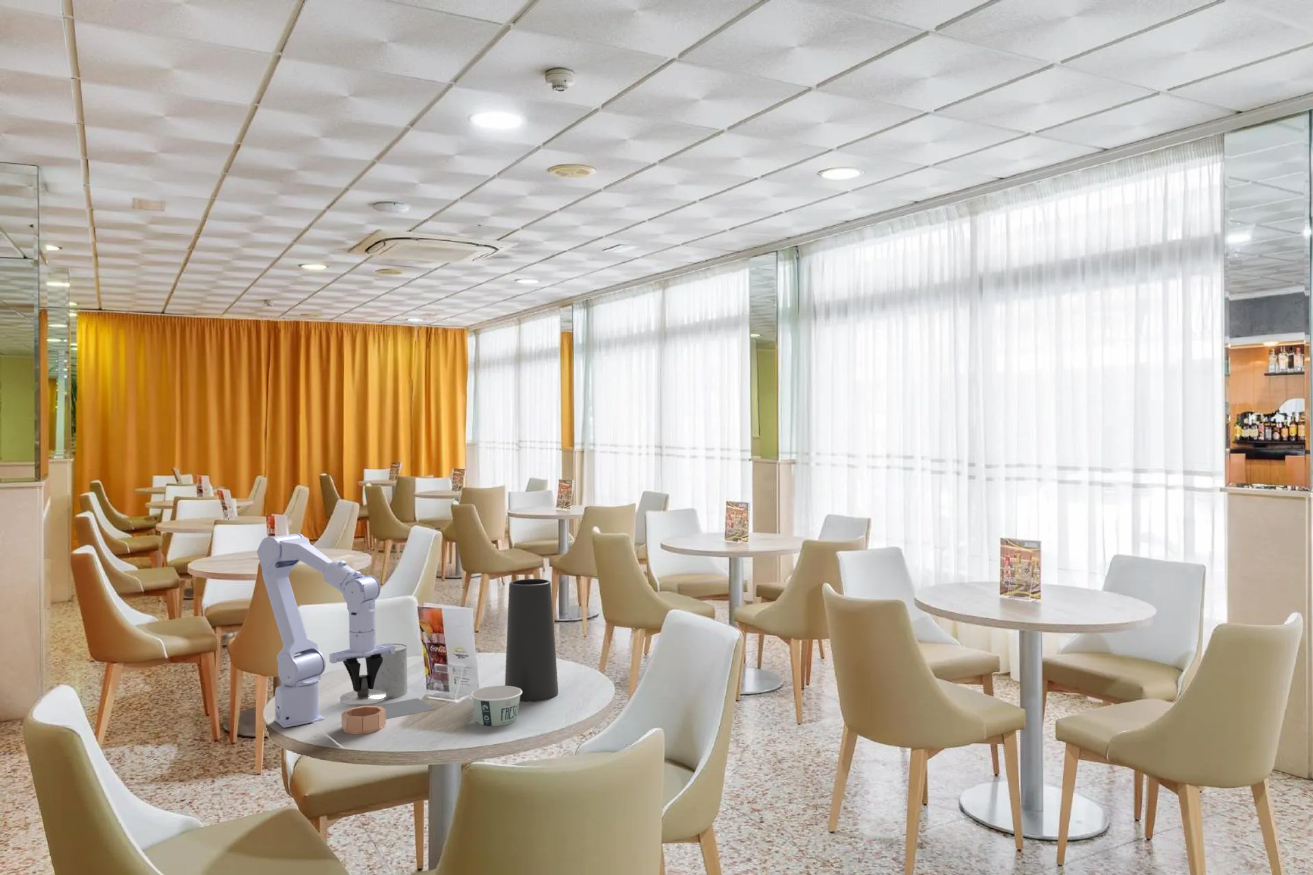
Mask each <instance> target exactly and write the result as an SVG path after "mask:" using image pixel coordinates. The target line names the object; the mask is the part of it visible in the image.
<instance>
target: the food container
mask: <svg viewBox="0 0 1313 875" xmlns="http://www.w3.org/2000/svg"><path fill="white" fill-rule="evenodd" d="M521 694H522V690H521V689H520V688H517V687H513V686H505V685H492V686H491V685H490V686H486V687H480V688H478V689H477V688H476V689H475V690H473V691H471V693H470V697H471V698H472V701H473V707H474V713H475V718H476V723H477V724H478V725H481V726H484V727H485V726H487V727H500V726H507V725H510V724H513V723H515V722H516V721H517V719H518V713H519V704H520V702H521V701H520V695H521Z"/></svg>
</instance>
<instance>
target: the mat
mask: <svg viewBox="0 0 1313 875" xmlns="http://www.w3.org/2000/svg"><path fill="white" fill-rule="evenodd" d="M377 706H381V707H382V708H384V709H385V710H386V720H388V719H394V718H395V719H396V718H399V717H404V716H410V715H415V714H419V713H423V712H424V713H425V712H429V711H435V710H437V708H436V707H434V706H433V705H431V704H429V703H427V702H425V701H424V700H422V699H420V698H418V697H416V698H411V699H406V700H401V701H400V700H399V701H396V702H389V703H385V704H379V705H378V704H377Z"/></svg>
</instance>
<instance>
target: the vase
mask: <svg viewBox="0 0 1313 875" xmlns="http://www.w3.org/2000/svg"><path fill="white" fill-rule="evenodd" d="M551 583H552V582H551V580H548V579H543V578H542V579H541V578H525V579H523V578H522V579H516V580H512V581H510V582H509V584H508V598H507V599H508V600H507V601H508V604H507V606H508V607H507V624H506V625H507V629H506V631H507V632H506V648H505V650H506V651H505V653H506V654H505V670H504V671H505V675H504V677H505V678H504V686H513V687H517V688H520V689H521V690H522V694H521V695H520V701H519V702H522V701H524V702H523V703H525V702H527V703H529V702H528V701H532V702H540V700H541V701H546V700H550V699H553V698H555V697H556V696H558V694H559V682H558V667H557V653H556V640H555V639H556V638H555V626H554V624H555V622H554V612H553V596H552V594H553V593H552V585H551ZM552 697H553V698H552ZM545 699H546V700H545Z"/></svg>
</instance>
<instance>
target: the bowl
mask: <svg viewBox="0 0 1313 875" xmlns="http://www.w3.org/2000/svg"><path fill="white" fill-rule="evenodd" d="M340 714H341V718H340V719H341V728H342V731H343V732H344V733H346V734H350V735H351V734H352V735H363V734H364V735H365V734H371V733H375V732H378V731H380V730H383V728H384V727H385V725H386V724H387V719H386V710H385V709H384V708H382V707H381V706H378V705H360V706H357V707H350V708H348V709H346V710H344V711H343V712H342V713H340Z"/></svg>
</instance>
